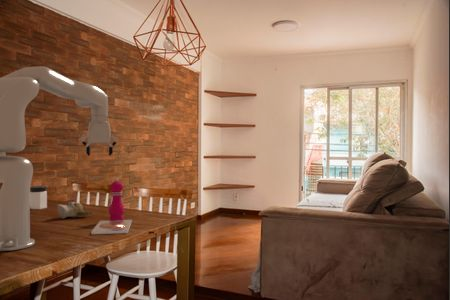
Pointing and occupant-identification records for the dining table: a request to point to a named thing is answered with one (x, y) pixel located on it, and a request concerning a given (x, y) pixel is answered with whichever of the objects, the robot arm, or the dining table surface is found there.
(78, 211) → the ceramic sculpture
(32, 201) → the jar
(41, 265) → the dining table surface
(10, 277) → the dining table surface
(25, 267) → the dining table surface
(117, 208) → the pepper mill
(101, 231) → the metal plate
